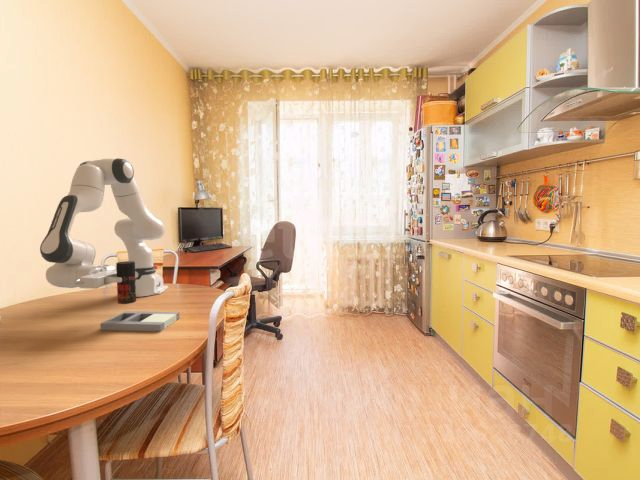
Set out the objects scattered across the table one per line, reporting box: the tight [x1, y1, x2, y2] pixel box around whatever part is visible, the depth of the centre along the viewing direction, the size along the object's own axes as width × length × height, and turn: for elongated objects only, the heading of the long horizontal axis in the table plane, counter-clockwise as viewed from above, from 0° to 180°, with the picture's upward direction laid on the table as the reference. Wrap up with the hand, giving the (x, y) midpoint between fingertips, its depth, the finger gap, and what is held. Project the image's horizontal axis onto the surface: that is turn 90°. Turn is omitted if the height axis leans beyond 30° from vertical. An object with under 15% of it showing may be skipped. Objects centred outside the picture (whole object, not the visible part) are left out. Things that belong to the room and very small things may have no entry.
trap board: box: [99, 310, 180, 332], centre depth 120 cm, size 14×22×2 cm, turn 88°
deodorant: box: [115, 260, 137, 305], centre depth 118 cm, size 6×6×15 cm
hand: (128, 277), depth 118 cm, fingers closed on deodorant, 6 cm apart
